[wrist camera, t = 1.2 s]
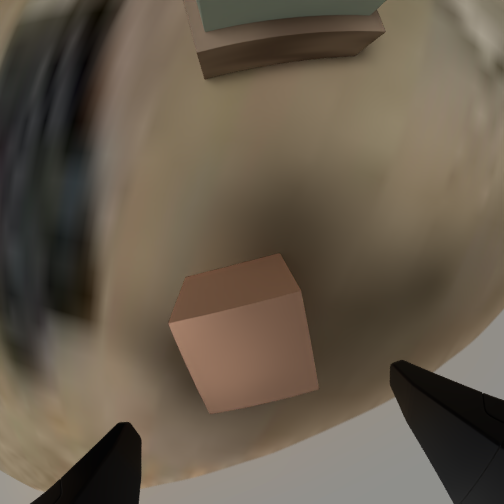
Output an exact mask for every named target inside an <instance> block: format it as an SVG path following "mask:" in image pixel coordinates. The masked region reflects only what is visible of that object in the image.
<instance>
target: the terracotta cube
mask: <svg viewBox="0 0 504 504" xmlns="http://www.w3.org/2000/svg"><path fill="white" fill-rule="evenodd" d="M168 324H169V326H170V329H171V331H172V334H173V336H174V338H175V341H176V343H177V345H178V348H179V350H180V352H181V354H182V357H183V359H184V361H185V363H186V366H187V368H188V370H189V372H190V374H191V376H192V379H193V381H194V383H195V385H196V387H197V389H198V391H199V393H200V395H201V397H202V399H203V401H204V403H205V405H206V407H207V409H208V411H209V413H210V414H213V413H219V412H225V411H231V410H236V409H241V408H246V407H251V406H256V405H260V404H265V403H269V402H273V401H278V400H282V399H286V398H290V397H293V396H297V395H301V394H305V393H308V392H312V391H315V390H318V389H319V385H318V379H317V373H316V367H315V362H314V356H313V350H312V345H311V339H310V334H309V329H308V323H307V318H306V313H305V308H304V303H303V298H302V293H301V290H300V288H299V286H298V284H297V283H296V281H295V279H294V277H293V275H292V274H291V272H290V270H289V268H288V267H287V265H286V263H285V261H284V260H283V258H282V256H281V254H280V253H278V254H274V255H270V256H266V257H262V258H258V259H255V260H251V261H247V262H243V263H239V264H235V265H231V266H227V267H224V268H220V269H216V270H212V271H208V272H204V273H200V274H196V275H192V276H188V277H185V280H184V283H183V285H182V288H181V290H180V293H179V296H178V298H177V301H176V304H175V306H174V309H173V312H172V314H171V317H170V320H169V323H168Z"/></svg>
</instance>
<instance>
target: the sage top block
mask: <svg viewBox="0 0 504 504" xmlns="http://www.w3.org/2000/svg"><path fill="white" fill-rule="evenodd" d="M385 1H386V0H196V2H197V5H198V9H199V13H200V16H201V20H202V23H203V27H204V31H205V32H208V31H212V30H217V29H221V28H226V27H231V26H236V25H241V24H247V23H253V22H259V21H266V20H274V19H282V18H292V17H304V16H321V15H371V14H372V13H373V12H374V11H375V10H376V9H377V8H378V7H380V6H381V5H382V4H383V3H384V2H385Z"/></svg>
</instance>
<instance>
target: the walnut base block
mask: <svg viewBox="0 0 504 504" xmlns="http://www.w3.org/2000/svg"><path fill="white" fill-rule="evenodd" d="M183 1H184V5H185V9H186V13H187V17H188V21H189V25H190V29H191V32H192V36H193V40H194V44H195V48H196V52H197V55H198V59H199V62H200V65H201V69H202V72H203V75H204V79H208V78H212V77H216V76H220V75H224V74H228V73H233V72H237V71H242V70H247V69H252V68H257V67H262V66H268V65H274V64H280V63H287V62H294V61H302V60H311V59H320V58H332V57H346V56H355V55H357V54H358V53H359V52H360V51H362V50H363V49H364V48H365V47H367V46H368V45H369V44H371V43H372V42H373V41H374V40H376V39H377V38H378V37H380V36H381V35H382V34H383V33H385V32H386V30H385V28H384V25H383V23H382V21H381V18H380V16H379V13H378V11H377V9H376V10H375V11H374V12H373V13H372V14H371V15H321V16H304V17H292V18H282V19H274V20H266V21H259V22H253V23H247V24H241V25H236V26H231V27H226V28H221V29H217V30H212V31H208V32H205V31H204V27H203V23H202V20H201V16H200V13H199V9H198V5H197V2H196V0H183Z"/></svg>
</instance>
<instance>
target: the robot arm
mask: <svg viewBox="0 0 504 504" xmlns="http://www.w3.org/2000/svg"><path fill="white" fill-rule="evenodd" d="M390 386H391V388H392V391H393V393H394V395H395V397H396V399H397V401H398V403H399V406H400V408H401V411H402V413H403V415H404V417H405V419H406V421H407V423H408V425H409V427H410V428H411V430H412V432H413V433H414V435H415V437H416V438H417V440H418V442H419V443H420V445H421V447H422V448H423V450H424V452H425V454H426V455H427V457H428V459H429V460H430V462H431V464H432V466H433V467H434V469H435V471H436V472H437V474H438V476H439V478H440V480H441V481H442V483H443V485H444V487H445V488H446V490H447V492H448V494H449V496H450V498H451V499H452V501H453V503H454V504H504V400H502V399H498V398H496V397H493V396H490V395H488V394H485V393H483V394H482V392H480V391H477V390H475V389H472V388H470V387H467V386H464V385H462V384H459V383H457V382H454V381H452V380H450V379H447V378H445V377H442V376H440V375H437V374H435V373H433V372H430V371H428V370H425V369H423V368H421V367H418V366H416V365H414V364H411V363H409V362H407V361H404V360H399V361H396V362H394V363H392V364H391V365H390ZM141 444H142V442H141V438H140V436H139V434H138V433H137V431H136V430H135V429H134V427H133V426H132V425H131V423H129V422H119V423H118V424H116V425H115V426H114V427H113V428H112V429H111V430H110V431H109V432H108V433H107V434H106V435H105V436H104V437H103V438H102V439H101V440H100V441H99V442H98V443H97V444H96V445H95V446H94V447H93V448H92V449H91V450H90V451H89V452H88V453H87V454H86V455H85V456H84V457H83V458H81V459H80V460H79V461H78V462H77V463H76V464H75V465H74V466H73V467H72V468H71V469H70V470H69V471H68V472H67V473H66V474H65V475H64V476H62V477H61V479H59V480H58V481H57V482H56V483H55V484H54V485H53V486H52V487H51V488H49V489H48V490H47V491H46V492H45V493H44V494H42V495H41V496H40V497H38V498H37V499H36V500H34V501H33V502H32V503H30V504H139V494H140V484H141Z"/></svg>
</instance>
